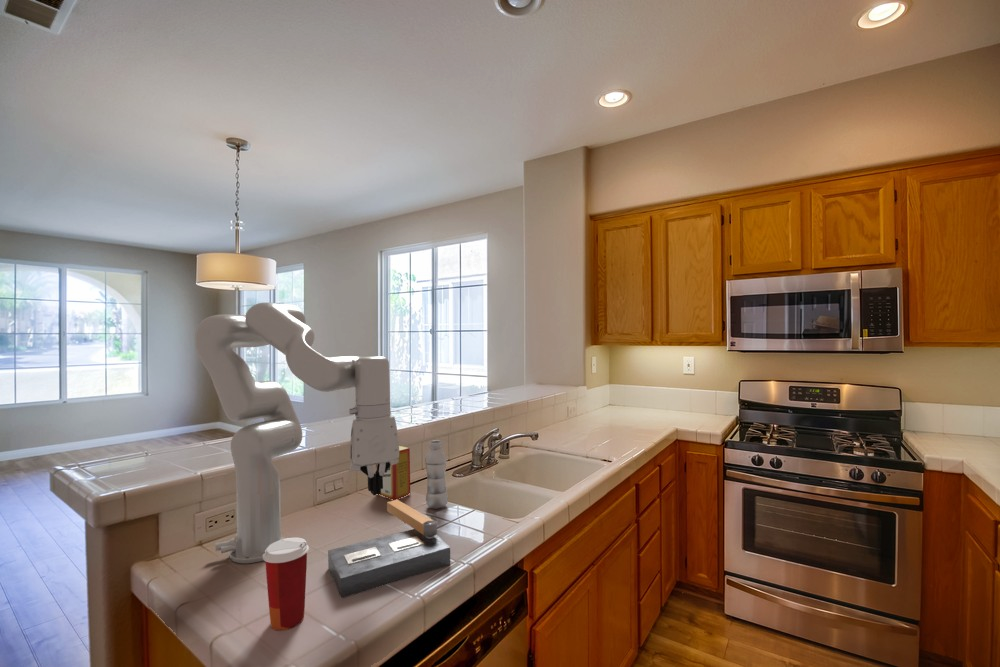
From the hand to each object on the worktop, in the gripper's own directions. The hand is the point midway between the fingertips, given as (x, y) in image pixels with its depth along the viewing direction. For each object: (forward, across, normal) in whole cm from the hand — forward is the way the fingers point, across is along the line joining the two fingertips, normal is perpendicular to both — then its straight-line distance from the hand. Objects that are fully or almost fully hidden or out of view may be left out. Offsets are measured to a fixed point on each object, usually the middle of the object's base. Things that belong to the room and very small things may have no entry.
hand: (375, 492), depth 100 cm
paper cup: (+18, -19, -9) cm, 27 cm away
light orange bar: (+12, +11, +10) cm, 19 cm away
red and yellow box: (+17, +17, +46) cm, 52 cm away
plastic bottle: (+18, +25, +28) cm, 41 cm away
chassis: (+17, +3, 0) cm, 18 cm away
